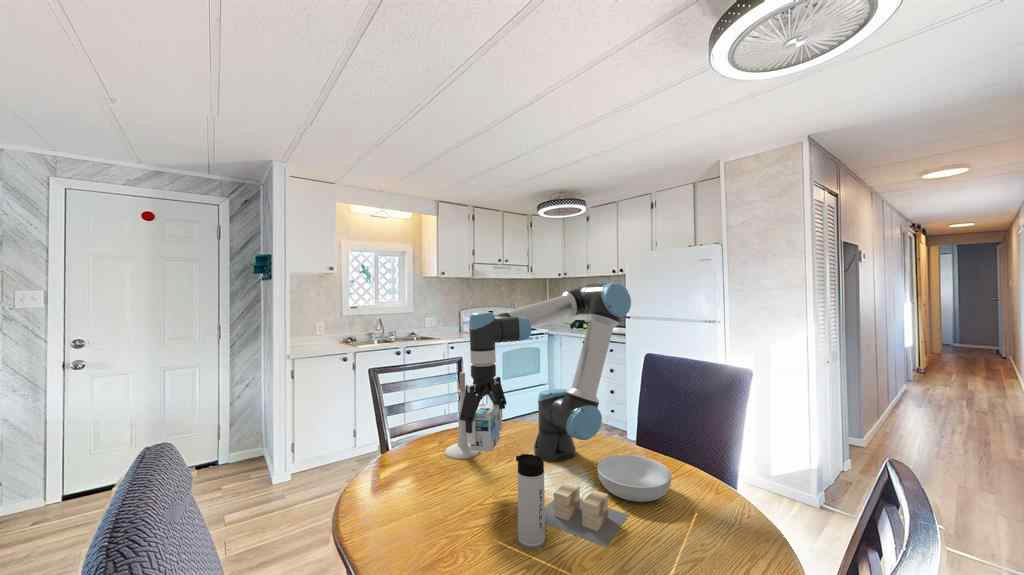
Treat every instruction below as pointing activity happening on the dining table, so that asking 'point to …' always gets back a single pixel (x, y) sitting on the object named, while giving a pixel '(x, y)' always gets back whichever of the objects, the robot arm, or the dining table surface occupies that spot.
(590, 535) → the mat
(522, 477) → the travel mug
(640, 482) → the serving bowl
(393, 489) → the dining table surface
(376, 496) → the dining table surface
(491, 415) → the light bulb box
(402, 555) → the dining table surface
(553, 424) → the robot arm
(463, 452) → the candlestick
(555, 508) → the beige wooden block
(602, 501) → the block
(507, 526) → the dining table surface
